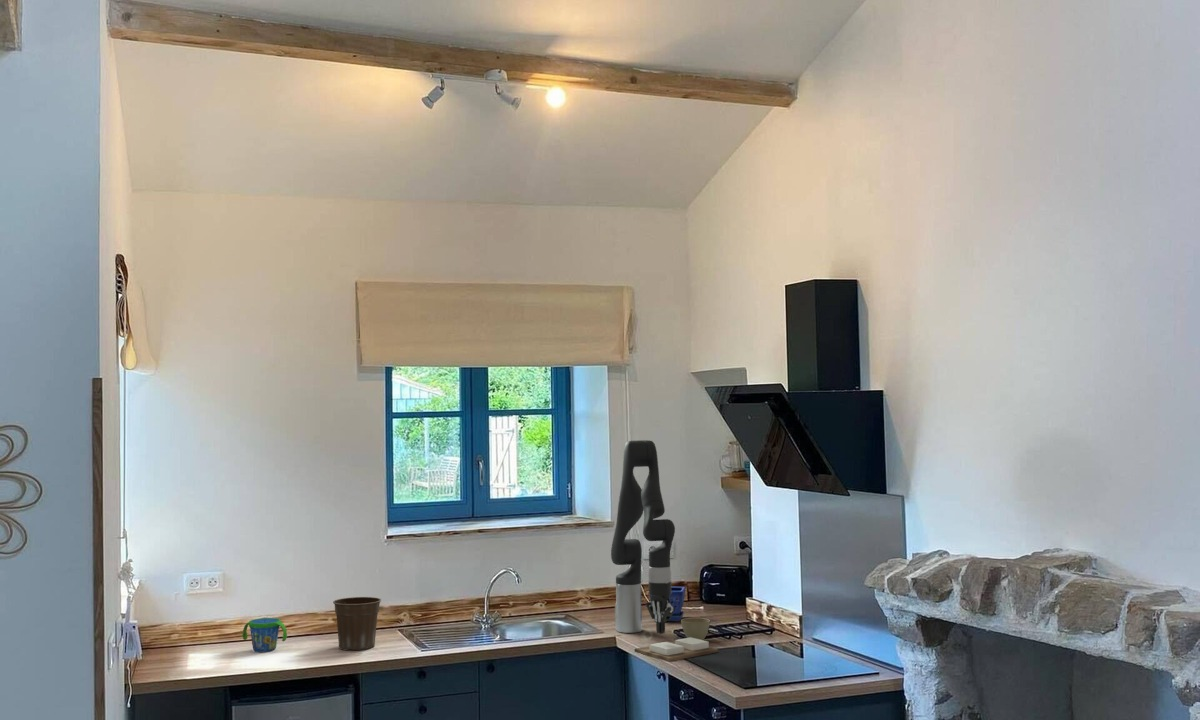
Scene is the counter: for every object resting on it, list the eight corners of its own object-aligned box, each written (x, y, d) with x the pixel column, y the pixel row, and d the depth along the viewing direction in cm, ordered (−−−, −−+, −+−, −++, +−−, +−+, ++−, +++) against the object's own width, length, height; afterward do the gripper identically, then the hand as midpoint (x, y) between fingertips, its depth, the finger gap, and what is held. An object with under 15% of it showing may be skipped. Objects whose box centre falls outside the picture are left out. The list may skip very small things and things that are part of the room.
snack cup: (293, 648, 362) (293, 618, 362) (275, 654, 352) (275, 624, 352) (254, 646, 366) (254, 616, 367) (235, 652, 356) (235, 622, 357)
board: (634, 651, 347) (634, 648, 347) (682, 643, 359) (682, 640, 360) (669, 661, 333) (669, 658, 333) (718, 652, 345) (717, 648, 345)
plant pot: (365, 640, 373) (365, 594, 374) (390, 646, 362) (390, 599, 363) (324, 647, 362) (324, 600, 363) (349, 654, 350) (348, 605, 351)
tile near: (649, 644, 343) (666, 649, 336) (665, 641, 347) (683, 646, 340) (649, 651, 343) (667, 655, 336) (666, 648, 347) (683, 652, 340)
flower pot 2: (708, 644, 357) (708, 623, 358) (679, 643, 359) (679, 622, 360) (711, 638, 367) (711, 617, 367) (683, 637, 369) (682, 617, 369)
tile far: (675, 640, 350) (692, 644, 342) (690, 637, 354) (708, 641, 347) (675, 646, 350) (692, 651, 342) (691, 643, 354) (708, 648, 346)
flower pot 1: (652, 616, 411) (651, 585, 412) (686, 616, 409) (685, 585, 410) (649, 622, 398) (648, 590, 399) (684, 622, 396) (683, 591, 397)
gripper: (638, 579, 348) (639, 631, 347) (663, 583, 338) (664, 637, 337) (656, 576, 353) (657, 628, 352) (681, 581, 342) (682, 634, 341)
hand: (660, 633), depth 344 cm, fingers closed
